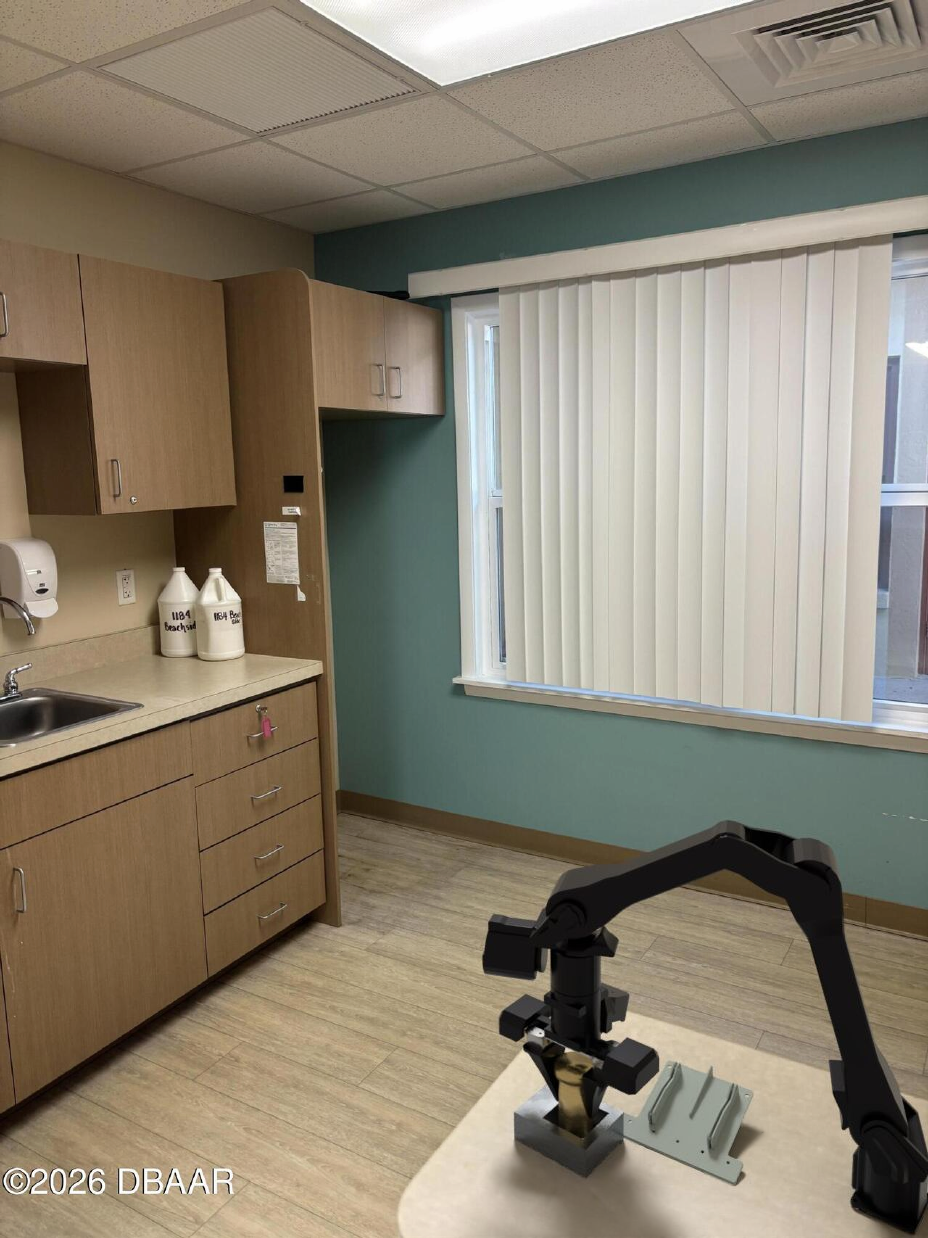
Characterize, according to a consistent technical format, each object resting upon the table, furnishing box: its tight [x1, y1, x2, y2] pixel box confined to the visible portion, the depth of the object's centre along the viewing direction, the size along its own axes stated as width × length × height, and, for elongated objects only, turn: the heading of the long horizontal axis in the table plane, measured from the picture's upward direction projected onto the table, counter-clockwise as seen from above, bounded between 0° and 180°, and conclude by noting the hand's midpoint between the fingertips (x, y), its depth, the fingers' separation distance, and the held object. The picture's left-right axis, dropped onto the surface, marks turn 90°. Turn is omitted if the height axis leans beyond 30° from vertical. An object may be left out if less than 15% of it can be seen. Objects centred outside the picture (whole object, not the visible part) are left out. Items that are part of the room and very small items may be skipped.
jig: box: [513, 1083, 625, 1179], centre depth 111 cm, size 10×8×4 cm
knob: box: [554, 1050, 593, 1139], centre depth 110 cm, size 5×5×8 cm
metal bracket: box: [623, 1060, 755, 1186], centre depth 113 cm, size 14×6×15 cm
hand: (576, 1108), depth 110 cm, fingers closed on knob, 4 cm apart
